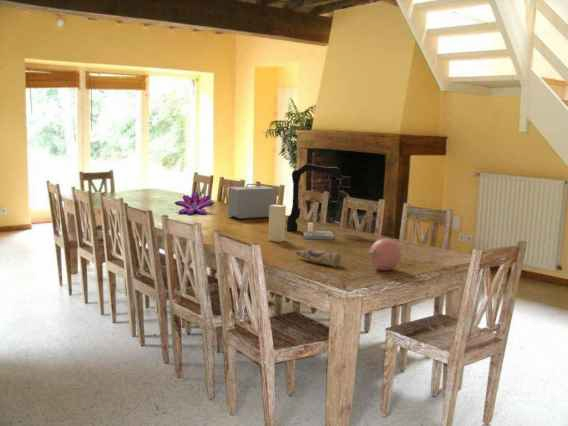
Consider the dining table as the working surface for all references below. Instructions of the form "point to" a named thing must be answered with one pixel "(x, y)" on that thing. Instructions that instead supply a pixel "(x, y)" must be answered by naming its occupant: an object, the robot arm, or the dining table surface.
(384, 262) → the pink round piece
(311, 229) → the fader tab
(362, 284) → the dining table surface
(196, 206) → the decorative flower
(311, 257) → the decorative bottle
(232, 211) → the vintage electronic device
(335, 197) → the robot arm
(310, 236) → the console
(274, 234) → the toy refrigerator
